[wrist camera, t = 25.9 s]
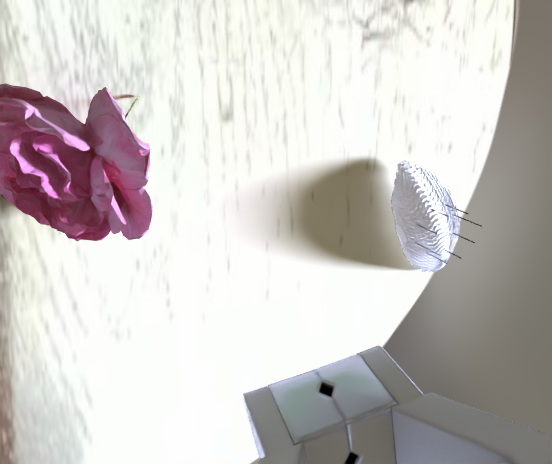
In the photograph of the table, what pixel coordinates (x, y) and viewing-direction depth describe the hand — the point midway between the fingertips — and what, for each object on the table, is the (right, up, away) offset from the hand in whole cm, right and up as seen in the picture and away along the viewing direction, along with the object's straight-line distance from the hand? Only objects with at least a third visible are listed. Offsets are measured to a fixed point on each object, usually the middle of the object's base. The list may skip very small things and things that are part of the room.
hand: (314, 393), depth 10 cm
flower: (-15, +9, +24) cm, 29 cm away
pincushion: (+12, +5, +34) cm, 36 cm away
